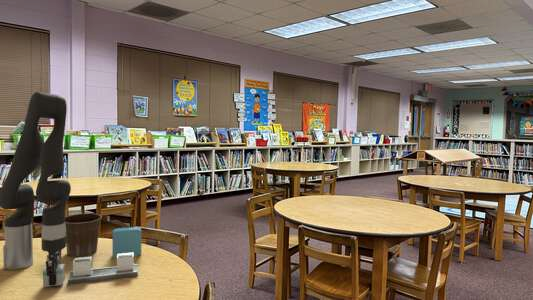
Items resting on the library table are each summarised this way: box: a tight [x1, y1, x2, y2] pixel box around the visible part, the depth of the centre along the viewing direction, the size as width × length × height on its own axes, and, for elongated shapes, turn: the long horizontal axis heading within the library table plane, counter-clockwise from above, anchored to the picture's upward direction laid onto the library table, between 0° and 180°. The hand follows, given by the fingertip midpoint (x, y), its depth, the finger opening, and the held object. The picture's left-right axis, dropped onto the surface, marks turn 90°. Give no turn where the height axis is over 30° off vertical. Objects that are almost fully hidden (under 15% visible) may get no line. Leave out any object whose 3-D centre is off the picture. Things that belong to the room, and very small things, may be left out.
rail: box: [67, 252, 139, 286], centre depth 136 cm, size 24×8×8 cm, turn 111°
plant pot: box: [65, 213, 103, 258], centre depth 160 cm, size 16×16×16 cm
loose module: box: [42, 263, 66, 288], centre depth 127 cm, size 6×5×6 cm
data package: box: [111, 226, 142, 259], centre depth 158 cm, size 12×4×12 cm, turn 112°
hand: (54, 281), depth 127 cm, fingers closed on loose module, 4 cm apart
